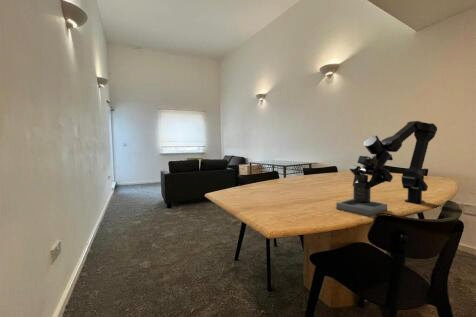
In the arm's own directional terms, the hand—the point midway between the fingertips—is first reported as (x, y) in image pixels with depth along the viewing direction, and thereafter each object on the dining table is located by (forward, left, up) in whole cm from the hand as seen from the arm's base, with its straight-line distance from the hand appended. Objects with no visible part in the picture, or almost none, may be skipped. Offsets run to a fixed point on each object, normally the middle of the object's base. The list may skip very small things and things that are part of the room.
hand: (359, 187), depth 109 cm
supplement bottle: (-1, 0, -7) cm, 7 cm away
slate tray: (-1, 0, -10) cm, 10 cm away
